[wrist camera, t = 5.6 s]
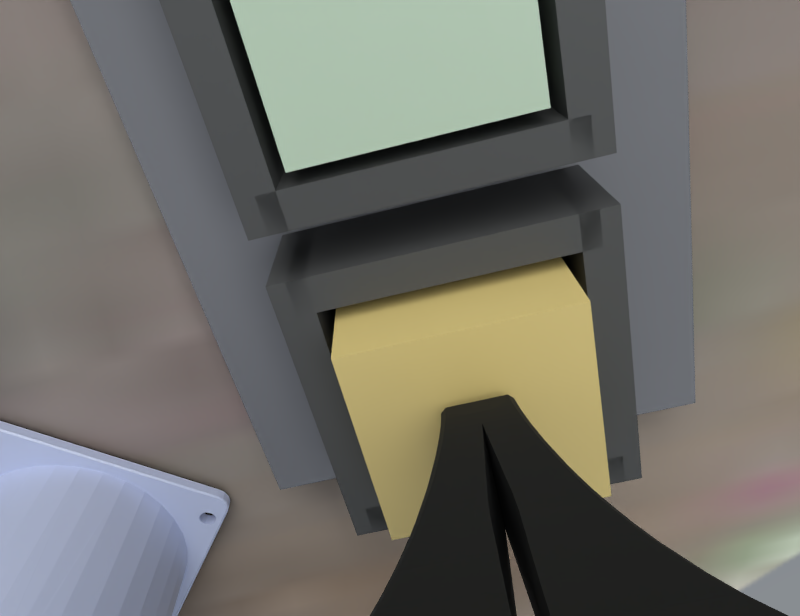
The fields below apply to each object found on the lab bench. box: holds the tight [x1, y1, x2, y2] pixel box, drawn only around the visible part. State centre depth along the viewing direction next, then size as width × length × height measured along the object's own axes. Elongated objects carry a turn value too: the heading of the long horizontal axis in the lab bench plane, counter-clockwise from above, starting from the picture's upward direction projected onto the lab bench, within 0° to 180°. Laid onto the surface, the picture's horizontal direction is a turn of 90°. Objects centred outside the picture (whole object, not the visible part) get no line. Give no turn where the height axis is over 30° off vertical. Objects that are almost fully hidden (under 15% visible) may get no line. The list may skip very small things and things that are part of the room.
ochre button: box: [331, 257, 611, 540], centre depth 14 cm, size 5×5×2 cm
